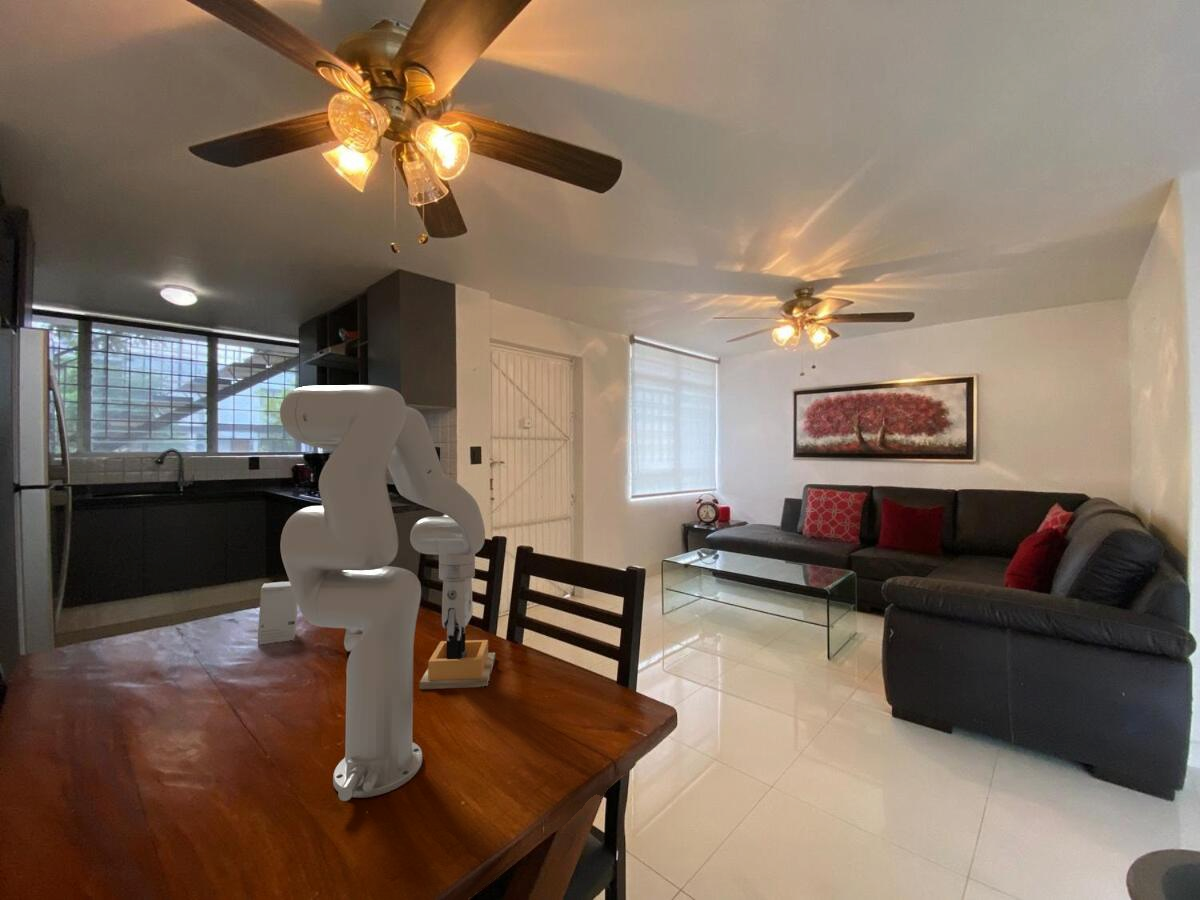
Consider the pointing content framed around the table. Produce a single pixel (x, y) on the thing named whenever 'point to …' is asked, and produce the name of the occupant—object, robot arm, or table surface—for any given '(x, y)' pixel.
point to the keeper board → (460, 682)
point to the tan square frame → (458, 662)
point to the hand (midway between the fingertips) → (455, 654)
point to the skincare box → (277, 613)
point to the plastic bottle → (352, 638)
